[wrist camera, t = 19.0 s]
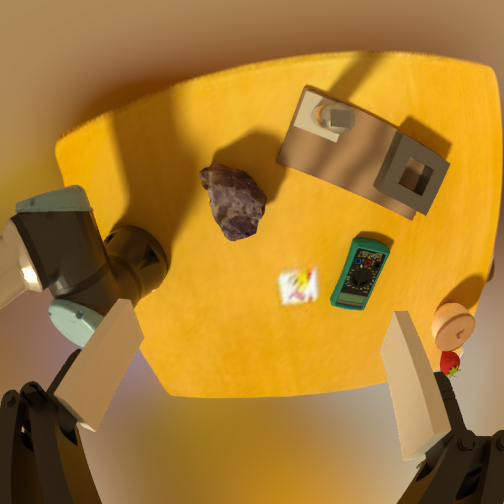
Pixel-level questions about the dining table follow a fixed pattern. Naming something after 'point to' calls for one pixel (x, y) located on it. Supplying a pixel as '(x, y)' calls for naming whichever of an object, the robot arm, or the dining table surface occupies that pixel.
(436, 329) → the lidded jar
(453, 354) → the strawberry
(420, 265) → the dining table surface
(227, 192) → the rock
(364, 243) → the digital multimeter
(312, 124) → the pad
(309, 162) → the board
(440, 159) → the block
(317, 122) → the silver metal post
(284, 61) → the dining table surface
